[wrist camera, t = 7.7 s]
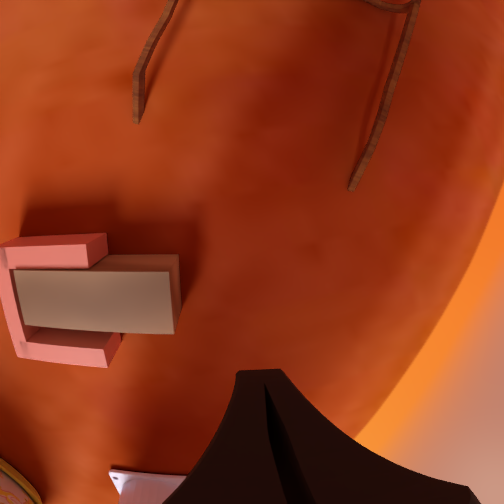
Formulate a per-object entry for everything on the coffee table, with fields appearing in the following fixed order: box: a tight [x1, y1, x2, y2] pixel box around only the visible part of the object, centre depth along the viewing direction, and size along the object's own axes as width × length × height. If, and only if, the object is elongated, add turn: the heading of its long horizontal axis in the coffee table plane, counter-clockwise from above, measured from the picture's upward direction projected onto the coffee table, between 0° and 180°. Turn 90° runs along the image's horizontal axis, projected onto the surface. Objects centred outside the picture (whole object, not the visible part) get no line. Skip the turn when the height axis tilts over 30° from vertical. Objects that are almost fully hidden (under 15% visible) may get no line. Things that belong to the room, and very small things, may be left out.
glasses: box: [133, 0, 421, 192], centre depth 13 cm, size 13×13×5 cm
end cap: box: [0, 233, 122, 368], centre depth 16 cm, size 7×7×3 cm
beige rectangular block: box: [13, 254, 182, 334], centre depth 16 cm, size 3×9×4 cm, turn 89°
